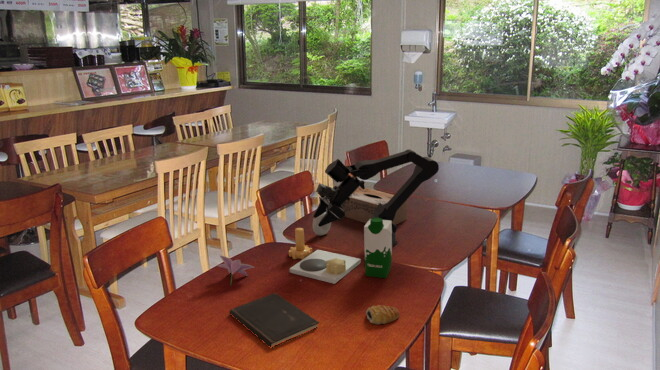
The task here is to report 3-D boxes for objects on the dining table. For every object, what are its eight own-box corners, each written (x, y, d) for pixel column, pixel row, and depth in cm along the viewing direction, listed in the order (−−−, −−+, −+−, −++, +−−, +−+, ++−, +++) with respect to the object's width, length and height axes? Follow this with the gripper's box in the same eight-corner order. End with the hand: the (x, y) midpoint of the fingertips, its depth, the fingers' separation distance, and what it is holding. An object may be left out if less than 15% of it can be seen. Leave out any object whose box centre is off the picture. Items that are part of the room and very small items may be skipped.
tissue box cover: (340, 215, 238) (339, 194, 235) (361, 207, 248) (361, 186, 245) (385, 229, 221) (385, 206, 218) (406, 220, 231) (407, 198, 228)
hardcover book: (275, 299, 169) (275, 292, 168) (319, 329, 152) (319, 322, 151) (229, 316, 160) (229, 309, 159) (271, 351, 142) (270, 343, 142)
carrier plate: (361, 263, 191) (361, 251, 189) (335, 284, 176) (335, 271, 175) (317, 253, 200) (317, 242, 199) (289, 272, 185) (289, 260, 184)
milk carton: (362, 276, 180) (361, 221, 175) (369, 265, 189) (368, 211, 183) (388, 280, 178) (388, 223, 172) (394, 268, 186) (394, 213, 180)
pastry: (393, 309, 160) (394, 298, 159) (403, 321, 154) (403, 309, 152) (364, 315, 157) (364, 304, 156) (372, 327, 151) (372, 315, 150)
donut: (317, 239, 212) (316, 216, 209) (311, 237, 214) (310, 214, 211) (333, 231, 220) (332, 208, 217) (326, 230, 222) (326, 207, 219)
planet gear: (316, 252, 201) (315, 227, 198) (303, 261, 194) (302, 235, 191) (297, 248, 205) (296, 223, 202) (284, 256, 198) (282, 231, 195)
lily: (258, 285, 179) (259, 256, 182) (230, 284, 171) (231, 254, 173) (235, 286, 187) (236, 258, 189) (207, 285, 178) (208, 256, 180)
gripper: (323, 169, 202) (296, 200, 203) (335, 183, 184) (304, 217, 185) (344, 187, 206) (317, 218, 207) (357, 203, 188) (327, 235, 189)
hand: (316, 221), depth 197 cm, fingers open, 9 cm apart
